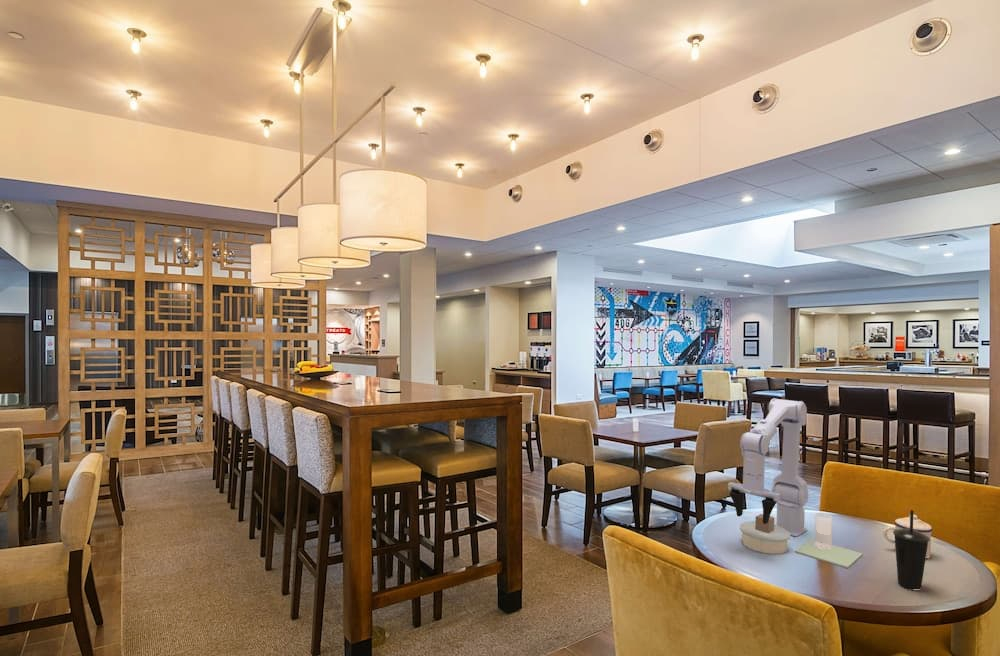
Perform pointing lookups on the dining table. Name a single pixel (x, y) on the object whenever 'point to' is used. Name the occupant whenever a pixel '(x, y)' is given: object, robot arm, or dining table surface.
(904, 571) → the drinking cup
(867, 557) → the dining table surface
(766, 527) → the cover
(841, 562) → the mat
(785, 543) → the bowl
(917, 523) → the teacup with lid
